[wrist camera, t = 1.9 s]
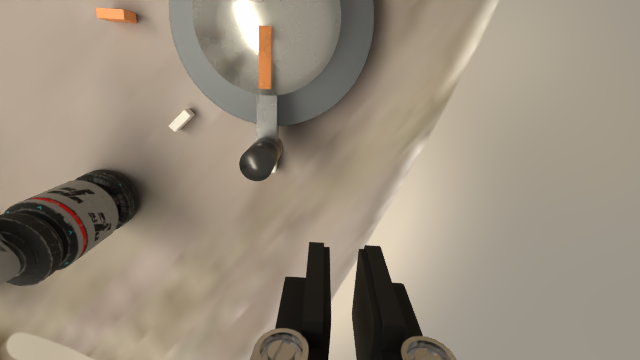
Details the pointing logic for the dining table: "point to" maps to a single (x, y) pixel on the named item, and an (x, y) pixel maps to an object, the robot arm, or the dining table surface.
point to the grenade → (62, 225)
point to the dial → (267, 57)
